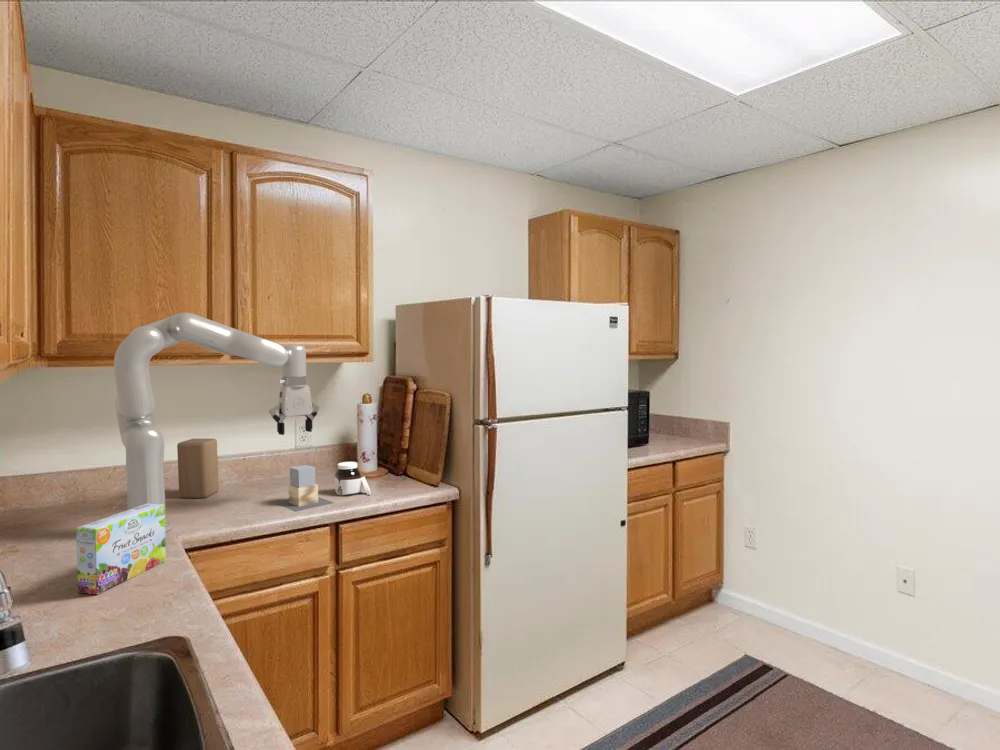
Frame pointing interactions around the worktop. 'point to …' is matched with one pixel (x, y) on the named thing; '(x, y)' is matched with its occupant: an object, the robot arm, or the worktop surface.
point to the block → (197, 468)
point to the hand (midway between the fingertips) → (295, 432)
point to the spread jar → (349, 480)
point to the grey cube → (302, 476)
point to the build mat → (297, 508)
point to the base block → (303, 495)
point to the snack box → (120, 547)
